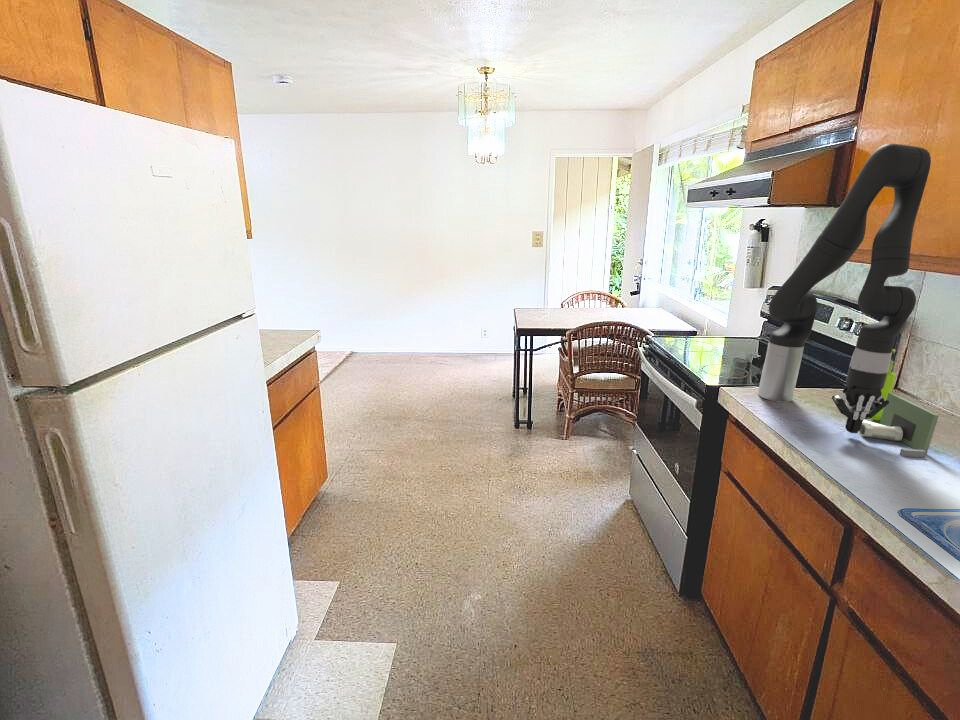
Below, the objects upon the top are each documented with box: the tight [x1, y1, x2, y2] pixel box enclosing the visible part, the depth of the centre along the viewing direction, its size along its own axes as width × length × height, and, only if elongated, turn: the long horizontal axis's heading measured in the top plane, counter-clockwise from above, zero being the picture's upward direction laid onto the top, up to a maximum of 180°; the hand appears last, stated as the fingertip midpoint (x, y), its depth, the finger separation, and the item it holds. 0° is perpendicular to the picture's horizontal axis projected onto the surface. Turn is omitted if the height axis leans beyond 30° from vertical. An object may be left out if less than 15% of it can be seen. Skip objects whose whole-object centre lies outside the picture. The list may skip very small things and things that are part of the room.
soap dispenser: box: [866, 348, 897, 421], centre depth 138 cm, size 6×7×20 cm
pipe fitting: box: [858, 420, 903, 442], centre depth 127 cm, size 8×4×7 cm
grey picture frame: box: [863, 392, 940, 458], centre depth 124 cm, size 19×7×10 cm, turn 176°
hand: (851, 431), depth 126 cm, fingers closed
